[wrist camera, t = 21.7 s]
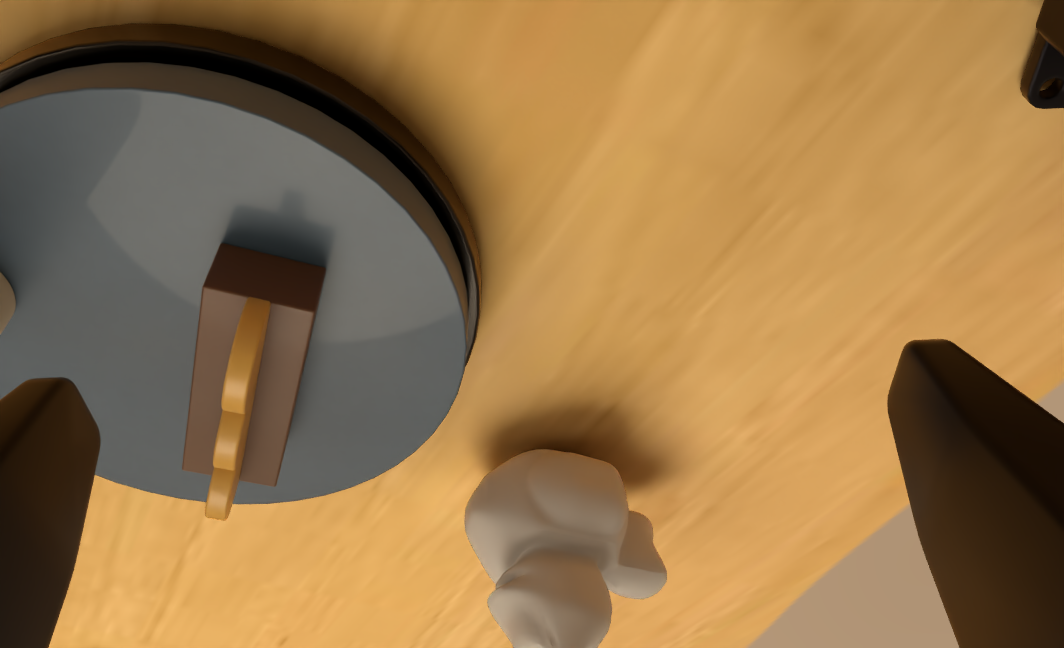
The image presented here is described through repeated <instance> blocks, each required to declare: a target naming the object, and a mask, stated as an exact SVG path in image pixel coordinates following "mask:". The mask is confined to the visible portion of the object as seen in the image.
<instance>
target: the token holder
mask: <svg viewBox="0 0 1064 648" xmlns="http://www.w3.org/2000/svg"><path fill="white" fill-rule="evenodd" d="M468 320H469V315H468V301H467V290H466V286H465V282H464V278H463V273H462V269H461V265H460V262H459V260H458V258H457V255H456V253H455V250H454V248H453V245H452V243H451V241H450V238H449V236H448V234H447V233H446V231H445V229H444V228H443V226H442V224H441V223H440V221H439V219H438V218H437V216H436V214H435V213H434V211H433V209H432V208H431V207H430V205H429V204H428V203H427V201H426V200H425V199H424V198H423V196H422V195H421V194H420V193H419V191H418V190H417V189H416V188H415V186H414V185H413V184H412V183H411V181H410V180H409V179H408V178H407V177H406V176H405V175H404V174H403V173H402V172H401V171H399V170H398V169H397V168H396V167H395V166H394V165H393V164H392V163H391V162H390V161H389V160H388V159H387V158H386V157H385V156H384V155H383V154H382V153H380V152H379V151H378V150H377V149H375V148H374V147H373V146H371V145H370V144H369V143H367V142H366V141H365V140H364V139H362V138H361V137H360V136H358V135H357V134H356V133H355V132H353V131H352V130H350V129H349V128H347V127H345V126H344V125H342V124H340V123H339V122H337V121H335V120H334V119H332V118H330V117H329V116H327V115H325V114H324V113H322V112H321V111H319V110H317V109H315V108H313V107H311V106H309V105H307V104H305V103H302V102H300V101H298V100H296V99H294V98H292V97H290V96H287V95H285V94H283V93H281V92H279V91H276V90H274V89H271V88H268V87H265V86H262V85H259V84H256V83H253V82H250V81H247V80H244V79H241V78H238V77H235V76H231V75H226V74H222V73H217V72H213V71H208V70H204V69H199V68H195V67H188V66H179V65H169V64H160V63H150V62H140V63H103V64H96V65H89V66H82V67H75V68H68V69H63V70H60V71H56V72H53V73H50V74H46V75H43V76H39V77H36V78H32V79H29V80H27V81H25V82H23V83H20V84H18V85H16V86H14V87H12V88H10V89H8V90H6V91H3V92H1V93H0V399H2V398H3V397H4V396H6V395H7V394H8V393H10V392H11V391H12V390H14V389H15V388H16V387H18V386H19V385H20V384H22V383H23V382H25V381H27V380H29V379H33V378H50V377H64V378H68V379H70V380H71V381H72V382H74V384H75V385H76V387H77V388H78V390H79V392H80V394H81V396H82V398H83V399H84V401H85V403H86V405H87V407H88V409H89V410H90V412H91V414H92V416H93V418H94V420H95V421H96V423H97V425H98V428H99V432H100V438H101V445H100V452H99V457H98V461H97V466H96V471H95V475H97V476H100V477H103V478H105V479H108V480H111V481H113V482H116V483H119V484H123V485H126V486H130V487H133V488H136V489H140V490H143V491H147V492H151V493H156V494H161V495H165V496H170V497H175V498H180V499H187V500H195V501H202V502H206V508H205V516H206V517H207V518H211V519H217V520H223V521H224V520H226V519H227V518H228V516H229V513H230V510H231V507H232V504H270V503H280V502H290V501H298V500H303V499H309V498H314V497H319V496H324V495H328V494H331V493H334V492H338V491H341V490H345V489H348V488H351V487H353V486H356V485H358V484H361V483H363V482H365V481H368V480H370V479H373V478H375V477H377V476H378V475H380V474H382V473H384V472H386V471H387V470H389V469H391V468H393V467H395V466H396V465H398V464H399V463H400V462H402V461H403V460H404V459H406V458H407V457H408V456H410V455H411V454H412V453H414V452H415V451H416V450H417V449H418V448H419V447H420V446H421V445H422V444H423V443H424V442H425V441H426V440H427V439H428V438H429V437H430V436H431V435H432V434H433V433H434V432H435V430H436V429H437V428H438V426H439V425H440V424H441V422H442V421H443V420H444V418H445V417H446V415H447V414H448V412H449V410H450V408H451V406H452V404H453V402H454V400H455V398H456V396H457V394H458V391H459V387H460V384H461V381H462V377H463V374H464V370H465V361H466V352H467V339H468Z"/></svg>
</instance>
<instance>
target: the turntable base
mask: <svg viewBox="0 0 1064 648" xmlns="http://www.w3.org/2000/svg"><path fill="white" fill-rule="evenodd" d="M140 62H150V63H160V64H169V65H179V66H188V67H195V68H199V69H204V70H208V71H213V72H217V73H222V74H226V75H231V76H235V77H238V78H241V79H244V80H247V81H250V82H253V83H256V84H259V85H262V86H265V87H268V88H271V89H274V90H276V91H279V92H281V93H283V94H285V95H287V96H290V97H292V98H294V99H296V100H298V101H300V102H302V103H305V104H307V105H309V106H311V107H313V108H315V109H317V110H319V111H321V112H322V113H324V114H325V115H327V116H329V117H330V118H332V119H334V120H335V121H337V122H339V123H340V124H342V125H344V126H345V127H347V128H349V129H350V130H352V131H353V132H355V133H356V134H357V135H358V136H360V137H361V138H362V139H364V140H365V141H366V142H367V143H369V144H370V145H371V146H373V147H374V148H375V149H377V150H378V151H379V152H380V153H382V154H383V155H384V156H385V157H386V158H387V159H388V160H389V161H390V162H391V163H392V164H393V165H394V166H395V167H396V168H397V169H398V170H399V171H401V172H402V173H403V174H404V175H405V176H406V177H407V178H408V179H409V180H410V181H411V183H412V184H413V185H414V186H415V188H416V189H417V190H418V191H419V193H420V194H421V195H422V196H423V198H424V199H425V200H426V201H427V203H428V204H429V205H430V207H431V208H432V209H433V211H434V213H435V214H436V216H437V218H438V219H439V221H440V223H441V224H442V226H443V228H444V229H445V231H446V233H447V234H448V236H449V238H450V241H451V243H452V245H453V248H454V250H455V253H456V255H457V258H458V260H459V262H460V265H461V269H462V273H463V278H464V282H465V286H466V290H467V301H468V315H469V320H468V339H467V352H466V361H465V366H466V365H467V363H468V361H469V358H470V355H471V352H472V349H473V346H474V343H475V340H476V337H477V330H478V324H479V318H480V307H481V266H480V261H479V255H478V250H477V244H476V239H475V236H474V233H473V231H472V228H471V225H470V222H469V219H468V216H467V213H466V211H465V209H464V207H463V205H462V203H461V201H460V199H459V197H458V195H457V193H456V191H455V190H454V188H453V186H452V184H451V182H450V181H449V179H448V178H447V176H446V175H445V173H444V172H443V171H442V169H441V168H440V166H439V165H438V164H437V162H436V161H435V159H434V158H433V157H432V155H431V154H430V153H429V152H428V150H427V149H426V148H425V147H424V146H423V145H422V144H421V143H420V142H419V141H418V140H417V139H416V137H415V136H414V135H413V134H412V133H411V132H410V131H409V130H408V129H407V128H406V127H405V126H404V125H403V124H402V123H401V122H400V121H399V120H397V119H396V118H395V117H394V116H393V115H392V114H390V113H389V112H388V111H387V110H386V109H384V108H383V107H382V106H381V105H380V104H379V103H377V102H376V101H375V100H374V99H372V98H371V97H369V96H368V95H366V94H365V93H363V92H362V91H360V90H359V89H357V88H356V87H354V86H353V85H351V84H350V83H348V82H347V81H345V80H344V79H342V78H341V77H339V76H337V75H335V74H333V73H331V72H330V71H328V70H326V69H324V68H322V67H320V66H318V65H316V64H314V63H312V62H310V61H308V60H306V59H304V58H302V57H300V56H297V55H295V54H292V53H290V52H287V51H284V50H282V49H279V48H277V47H274V46H271V45H269V44H266V43H264V42H261V41H257V40H253V39H249V38H246V37H242V36H238V35H234V34H230V33H226V32H223V31H219V30H212V29H205V28H198V27H190V26H183V25H176V24H122V25H114V26H105V27H96V28H88V29H85V30H81V31H77V32H73V33H69V34H65V35H62V36H58V37H54V38H51V39H48V40H46V41H44V42H41V43H39V44H37V45H35V46H32V47H30V48H28V49H25V50H23V51H21V52H18V53H17V54H15V55H14V56H12V57H11V58H9V59H8V60H6V61H5V62H3V63H1V64H0V93H1V92H3V91H6V90H8V89H10V88H12V87H14V86H16V85H18V84H20V83H23V82H25V81H27V80H29V79H32V78H36V77H39V76H43V75H46V74H50V73H53V72H56V71H60V70H63V69H68V68H75V67H82V66H89V65H96V64H103V63H140Z"/></svg>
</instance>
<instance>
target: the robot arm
mask: <svg viewBox="0 0 1064 648" xmlns="http://www.w3.org/2000/svg"><path fill="white" fill-rule="evenodd" d="M1036 28H1037V30H1038V31H1039V33H1038V35H1037V38H1036V41H1035V44H1034V47H1033V50H1032V52H1031V55H1030V58H1029V61H1028V64H1027V67H1026V69H1025V72H1024V75H1023V78H1022V81H1021V87H1020V90H1021V92H1022V95H1023V96H1024V97H1025V98H1026V99H1027V101H1028V102H1029V103H1030V104H1032V105H1033V106H1034V107H1036V108H1042V109H1049V108H1064V0H1044V3H1043V6H1042V9H1041V12H1040V15H1039V18H1038V20H1037V24H1036ZM1053 78H1055V80H1054V82H1053V83H1052V85H1051V86H1050V87H1048V88H1047V89H1045V90H1041V91H1040V88H1041V86H1042V85H1043V83H1045V82H1046V81H1048V80H1049V79H1053ZM888 414H889V419H890V423H891V427H892V431H893V435H894V439H895V444H896V448H897V452H898V456H899V460H900V464H901V468H902V472H903V476H904V480H905V485H906V489H907V493H908V497H909V501H910V505H911V509H912V513H913V517H914V521H915V525H916V528H917V531H918V536H919V538H920V542H921V545H922V548H923V551H924V554H925V556H926V560H927V562H928V565H929V568H930V570H931V573H932V576H933V578H934V581H935V584H936V586H937V589H938V591H939V594H940V597H941V599H942V602H943V605H944V608H945V610H946V613H947V615H948V618H949V621H950V624H951V626H952V629H953V632H954V634H955V637H956V639H957V642H958V645H959V648H1064V423H1063V422H1061V421H1060V420H1058V419H1057V418H1056V417H1054V416H1053V415H1052V414H1050V413H1049V412H1047V411H1046V410H1044V409H1043V408H1042V407H1040V406H1039V405H1038V404H1036V403H1035V402H1034V401H1032V400H1031V399H1030V398H1028V397H1027V396H1026V395H1024V394H1023V393H1021V392H1020V391H1019V390H1017V389H1016V388H1015V387H1013V386H1012V385H1010V384H1009V383H1008V382H1006V381H1005V380H1004V379H1002V378H1001V377H999V376H998V375H997V374H995V373H994V372H993V371H991V370H990V369H988V368H987V367H986V366H984V365H983V364H982V363H980V362H979V361H978V360H976V359H975V358H973V357H972V356H971V355H969V354H968V353H967V352H965V351H964V350H962V349H961V348H960V347H958V346H957V345H956V344H954V343H952V342H951V341H948V340H944V339H931V340H913V341H910V342H908V343H907V344H906V345H905V347H904V348H903V351H902V353H901V356H900V359H899V362H898V365H897V368H896V371H895V375H894V378H893V381H892V384H891V387H890V390H889V394H888ZM100 445H101V438H100V432H99V428H98V425H97V423H96V421H95V420H94V418H93V416H92V414H91V412H90V410H89V409H88V407H87V405H86V403H85V401H84V399H83V398H82V396H81V394H80V392H79V390H78V388H77V387H76V385H75V384H74V382H72V381H71V380H70V379H68V378H64V377H50V378H33V379H29V380H27V381H25V382H23V383H22V384H20V385H19V386H18V387H16V388H15V389H14V390H12V391H11V392H10V393H8V394H7V395H6V396H4V397H3V398H2V399H0V648H48V647H49V644H50V641H51V638H52V635H53V632H54V629H55V626H56V623H57V620H58V617H59V614H60V611H61V608H62V606H63V603H64V600H65V597H66V594H67V590H68V587H69V584H70V581H71V578H72V574H73V571H74V567H75V563H76V559H77V555H78V550H79V546H80V541H81V536H82V532H83V527H84V522H85V518H86V513H87V508H88V503H89V499H90V494H91V489H92V485H93V480H94V475H95V471H96V466H97V461H98V457H99V452H100Z"/></svg>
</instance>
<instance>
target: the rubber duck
mask: <svg viewBox="0 0 1064 648" xmlns="http://www.w3.org/2000/svg"><path fill="white" fill-rule="evenodd" d="M465 530H466V534H467V537H468V539H469V542H470V544H471V546H472V548H473V549H474V551H475V553H476V555H477V557H478V558H479V560H480V562H481V564H482V566H483V567H484V569H485V570H486V572H487V574H488V575H489V577H490V578H491V579H492V581H493V582H494V583H495V584H496V588H495V590H494V591H493V592H492V593H491V594H490V596H489V597H488V601H487V603H488V607H489V609H490V612H491V614H492V616H493V617H494V619H495V620H496V622H497V623H498V624H499V626H500V627H501V629H502V630H503V632H504V633H505V634H506V636H507V637H508V639H509V640H510V642H511V643H512V645H513V648H597V647H598V646H599V644H600V643H601V641H602V640H603V638H604V637H605V635H606V634H607V632H608V630H609V626H610V623H611V615H612V604H611V599H610V595H609V591H608V590H610V591H611V592H613V593H615V594H617V595H620V596H623V597H627V598H632V599H645V598H649V597H651V596H653V595H654V594H656V593H657V592H659V591H660V590H661V589H662V587H663V586H664V584H665V583H666V580H667V571H666V568H665V566H664V564H663V561H662V559H661V558H660V556H659V554H658V552H657V550H656V548H655V546H654V544H653V528H652V524H651V522H650V520H649V519H648V518H647V517H646V516H644V515H642V514H640V513H638V512H634V511H629V508H628V503H627V497H626V492H625V488H624V484H623V481H622V478H621V476H620V474H619V472H618V471H617V469H616V468H615V467H614V466H613V465H611V464H610V463H608V462H605V461H602V460H598V459H595V458H591V457H587V456H584V455H580V454H576V453H570V452H561V451H556V450H549V449H537V450H531V451H527V452H524V453H521V454H519V455H516V456H514V457H512V458H511V459H509V460H507V461H506V462H504V463H502V464H501V465H499V466H498V467H497V468H495V469H494V470H493V471H491V472H490V473H489V474H487V475H486V476H485V477H484V478H483V479H482V481H481V482H480V484H479V486H478V487H477V488H476V490H475V491H474V493H473V494H472V496H471V498H470V499H469V501H468V503H467V506H466V509H465Z"/></svg>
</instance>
